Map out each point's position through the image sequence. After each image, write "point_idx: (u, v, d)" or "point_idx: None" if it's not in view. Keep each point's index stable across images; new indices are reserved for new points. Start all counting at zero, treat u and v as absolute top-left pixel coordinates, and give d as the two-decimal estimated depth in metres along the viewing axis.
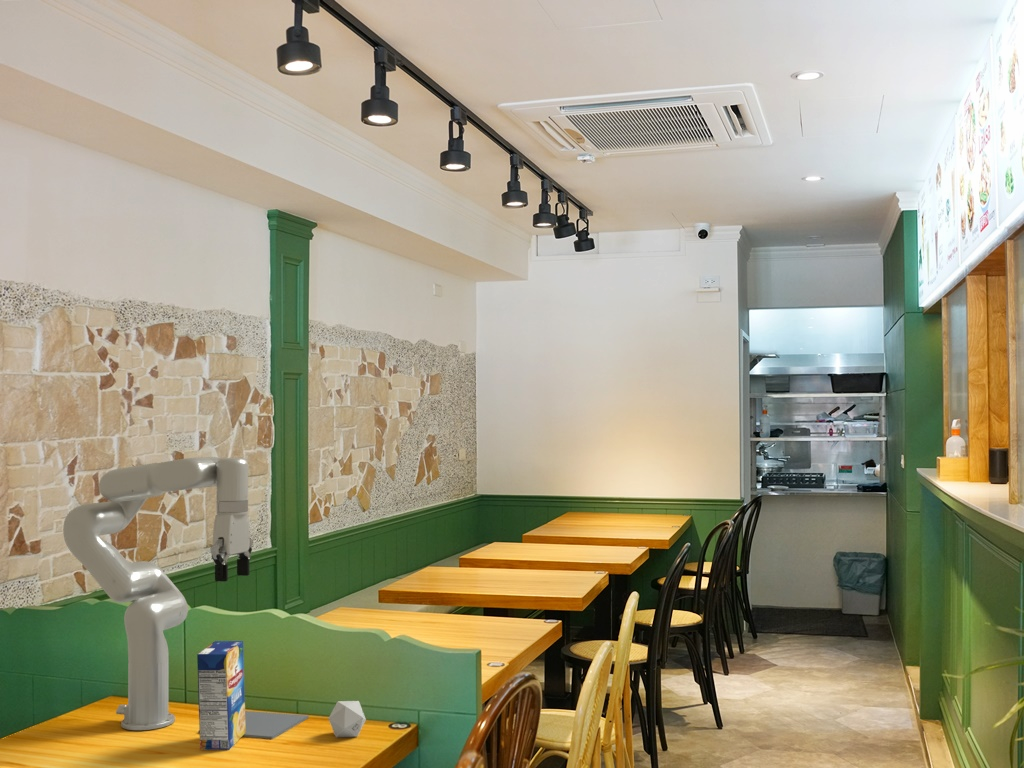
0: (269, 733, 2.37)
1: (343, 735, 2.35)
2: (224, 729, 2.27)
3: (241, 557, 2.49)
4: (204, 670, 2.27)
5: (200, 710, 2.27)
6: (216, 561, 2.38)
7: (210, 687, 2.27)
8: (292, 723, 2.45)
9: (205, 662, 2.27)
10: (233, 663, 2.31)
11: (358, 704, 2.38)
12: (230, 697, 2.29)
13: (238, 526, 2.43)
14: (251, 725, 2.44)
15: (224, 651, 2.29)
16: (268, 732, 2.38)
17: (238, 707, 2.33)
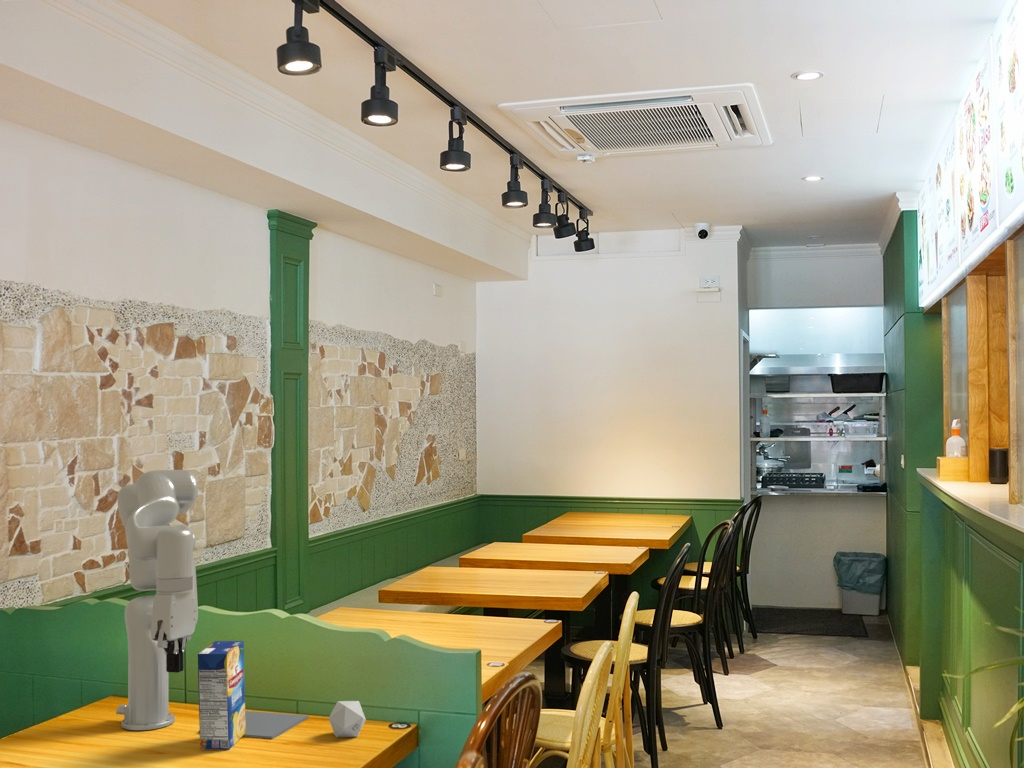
0: (269, 733, 2.37)
1: (343, 735, 2.35)
2: (224, 729, 2.27)
3: None
4: (204, 669, 2.27)
5: (200, 710, 2.28)
6: (167, 650, 2.13)
7: (210, 687, 2.27)
8: (292, 723, 2.45)
9: (205, 661, 2.27)
10: (233, 663, 2.31)
11: (358, 704, 2.38)
12: (230, 697, 2.29)
13: (181, 606, 2.14)
14: (251, 725, 2.44)
15: (224, 651, 2.29)
16: (268, 732, 2.38)
17: (238, 707, 2.33)
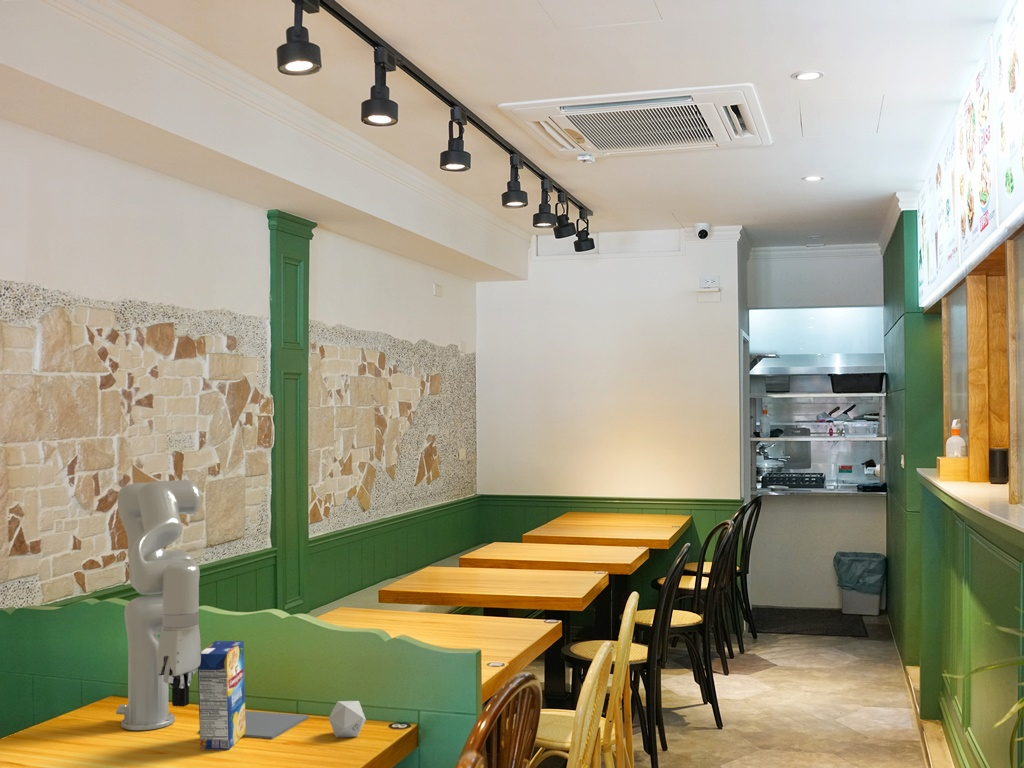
0: (269, 733, 2.37)
1: (343, 735, 2.35)
2: (224, 729, 2.27)
3: None
4: (204, 669, 2.27)
5: (200, 710, 2.28)
6: (173, 685, 2.15)
7: (210, 687, 2.27)
8: (292, 723, 2.45)
9: (205, 661, 2.27)
10: (233, 663, 2.31)
11: (358, 704, 2.38)
12: (230, 697, 2.29)
13: (186, 642, 2.16)
14: (251, 725, 2.44)
15: (224, 651, 2.29)
16: (268, 732, 2.38)
17: (238, 707, 2.33)
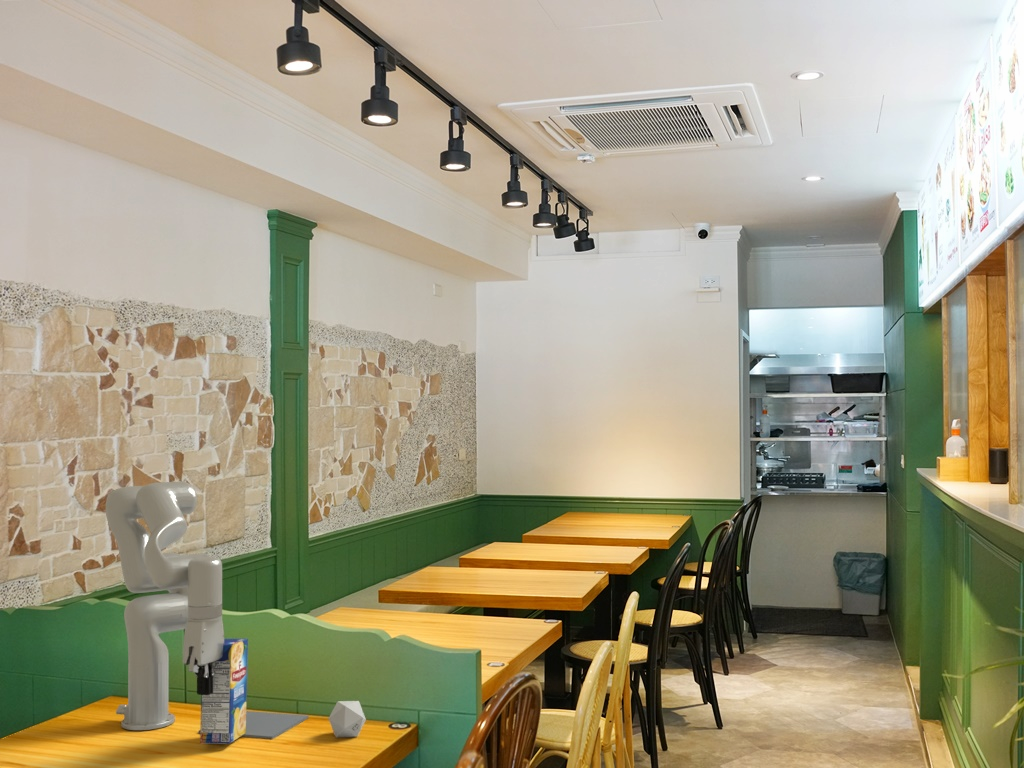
0: (269, 733, 2.37)
1: (343, 735, 2.35)
2: (225, 722, 2.28)
3: None
4: None
5: (202, 702, 2.29)
6: (198, 674, 2.24)
7: (214, 678, 2.29)
8: (292, 723, 2.45)
9: None
10: (237, 657, 2.34)
11: (358, 704, 2.38)
12: (233, 690, 2.30)
13: (211, 633, 2.25)
14: (251, 725, 2.44)
15: (229, 643, 2.32)
16: (268, 732, 2.38)
17: (239, 703, 2.35)
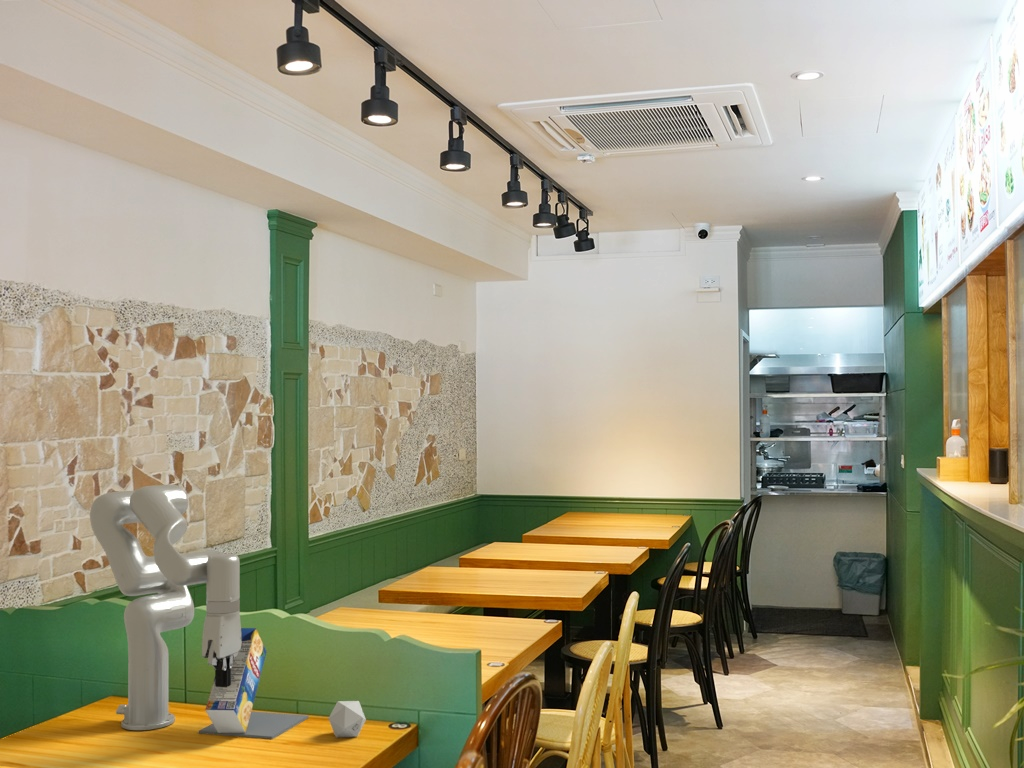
0: (269, 733, 2.37)
1: (343, 735, 2.35)
2: (235, 692, 2.34)
3: None
4: None
5: None
6: (216, 667, 2.31)
7: None
8: (292, 723, 2.45)
9: None
10: (257, 649, 2.47)
11: (358, 704, 2.38)
12: (247, 669, 2.40)
13: (229, 627, 2.32)
14: (251, 725, 2.44)
15: None
16: (268, 732, 2.38)
17: (248, 694, 2.40)
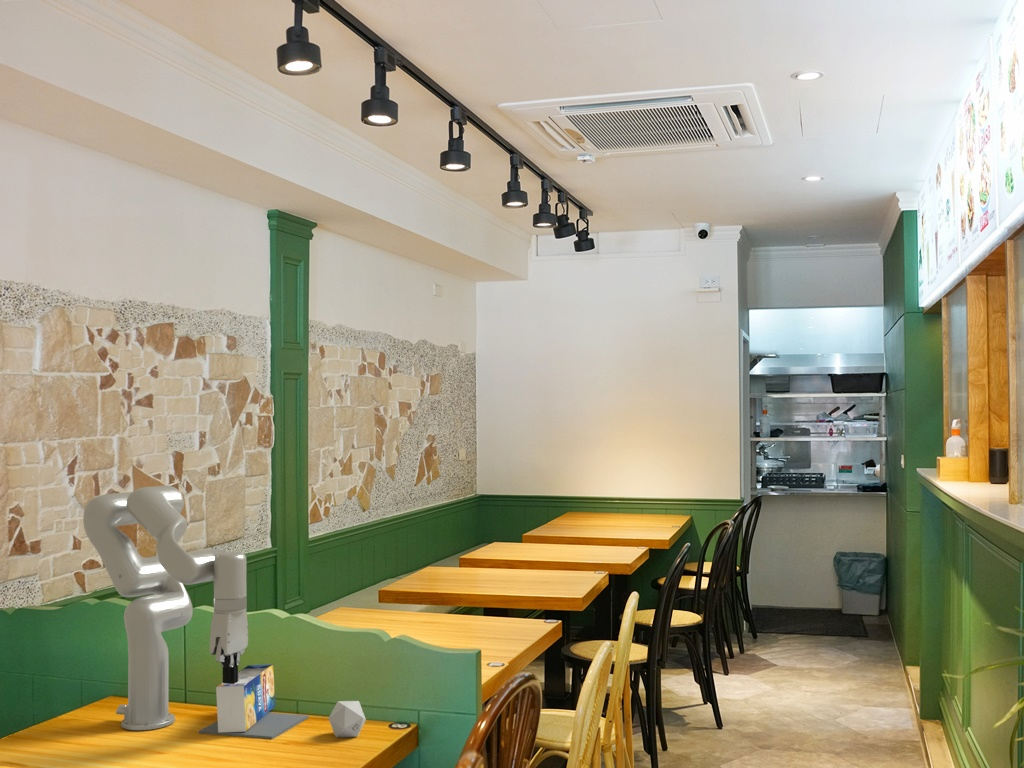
0: (269, 733, 2.37)
1: (343, 735, 2.35)
2: (246, 681, 2.43)
3: None
4: (248, 668, 2.57)
5: None
6: (224, 664, 2.34)
7: (248, 672, 2.53)
8: (292, 723, 2.45)
9: (252, 667, 2.59)
10: (269, 684, 2.57)
11: (358, 704, 2.38)
12: (260, 681, 2.50)
13: (236, 624, 2.35)
14: None
15: None
16: (268, 732, 2.38)
17: (255, 704, 2.46)
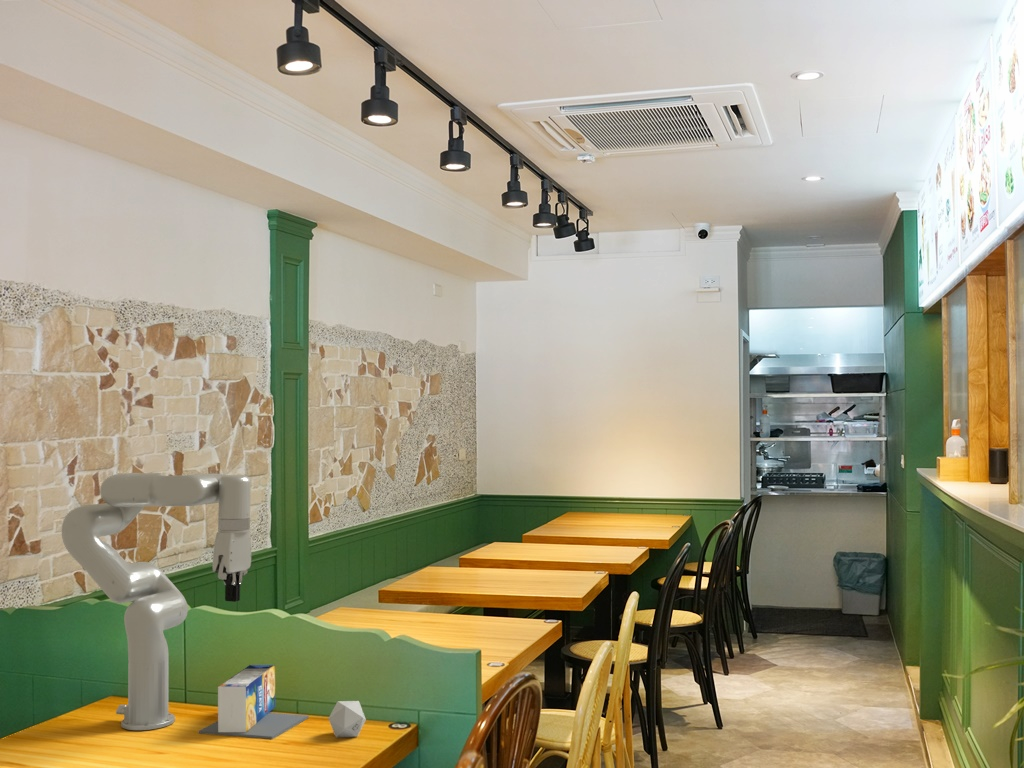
0: (269, 733, 2.37)
1: (343, 735, 2.35)
2: (248, 681, 2.43)
3: None
4: (250, 668, 2.57)
5: (233, 677, 2.48)
6: (226, 581, 2.42)
7: (250, 672, 2.53)
8: (292, 723, 2.45)
9: (254, 666, 2.59)
10: (270, 684, 2.57)
11: (358, 704, 2.38)
12: (261, 681, 2.50)
13: (239, 544, 2.42)
14: None
15: None
16: (268, 732, 2.38)
17: (256, 705, 2.46)
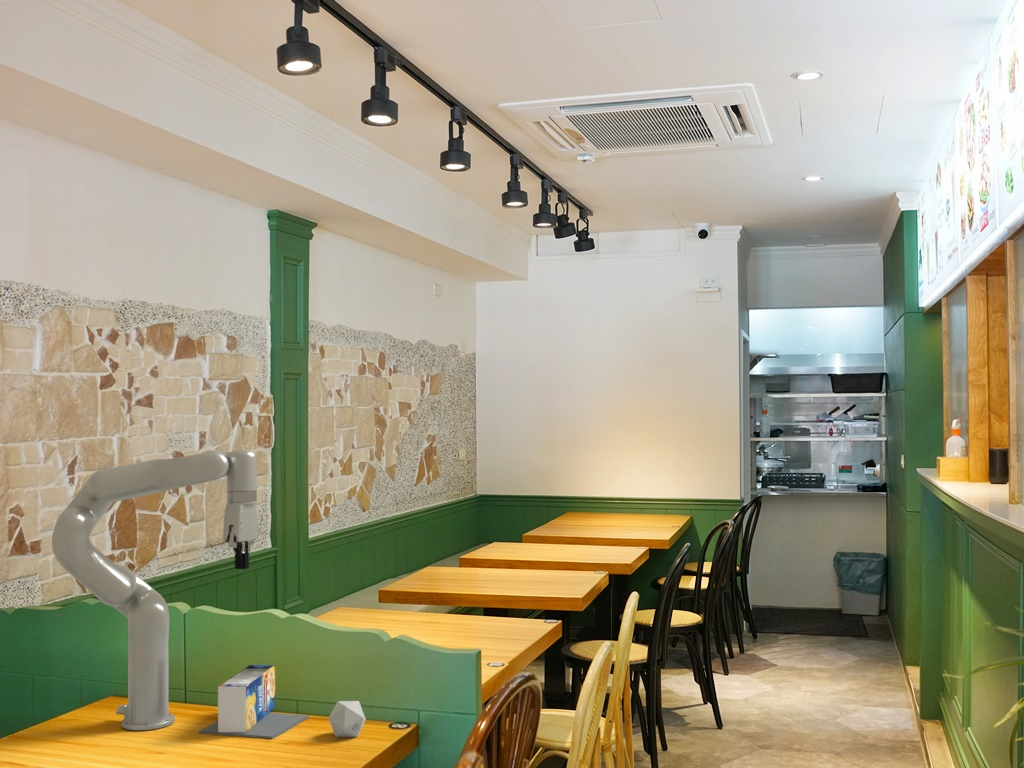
0: (269, 733, 2.37)
1: (343, 735, 2.35)
2: (248, 681, 2.43)
3: None
4: (250, 668, 2.57)
5: (233, 677, 2.48)
6: (236, 550, 2.57)
7: (250, 672, 2.53)
8: (292, 723, 2.45)
9: (254, 666, 2.59)
10: (270, 684, 2.57)
11: (358, 704, 2.38)
12: (261, 681, 2.50)
13: (247, 514, 2.58)
14: None
15: None
16: (268, 732, 2.38)
17: (256, 705, 2.46)
